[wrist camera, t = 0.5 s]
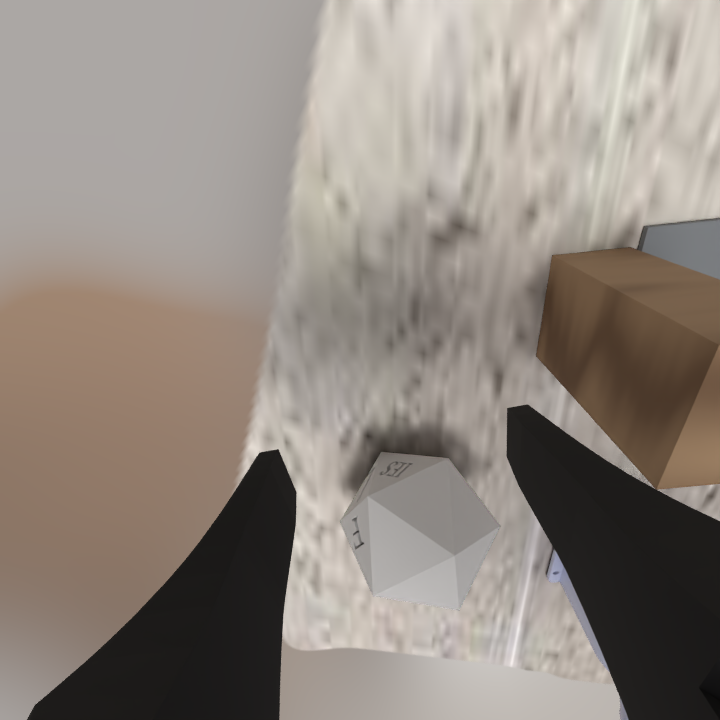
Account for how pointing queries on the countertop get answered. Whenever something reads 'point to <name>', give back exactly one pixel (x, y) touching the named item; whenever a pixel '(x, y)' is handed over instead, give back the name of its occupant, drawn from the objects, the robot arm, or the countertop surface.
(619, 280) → the walnut block
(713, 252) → the mat
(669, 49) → the countertop surface
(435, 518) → the die
